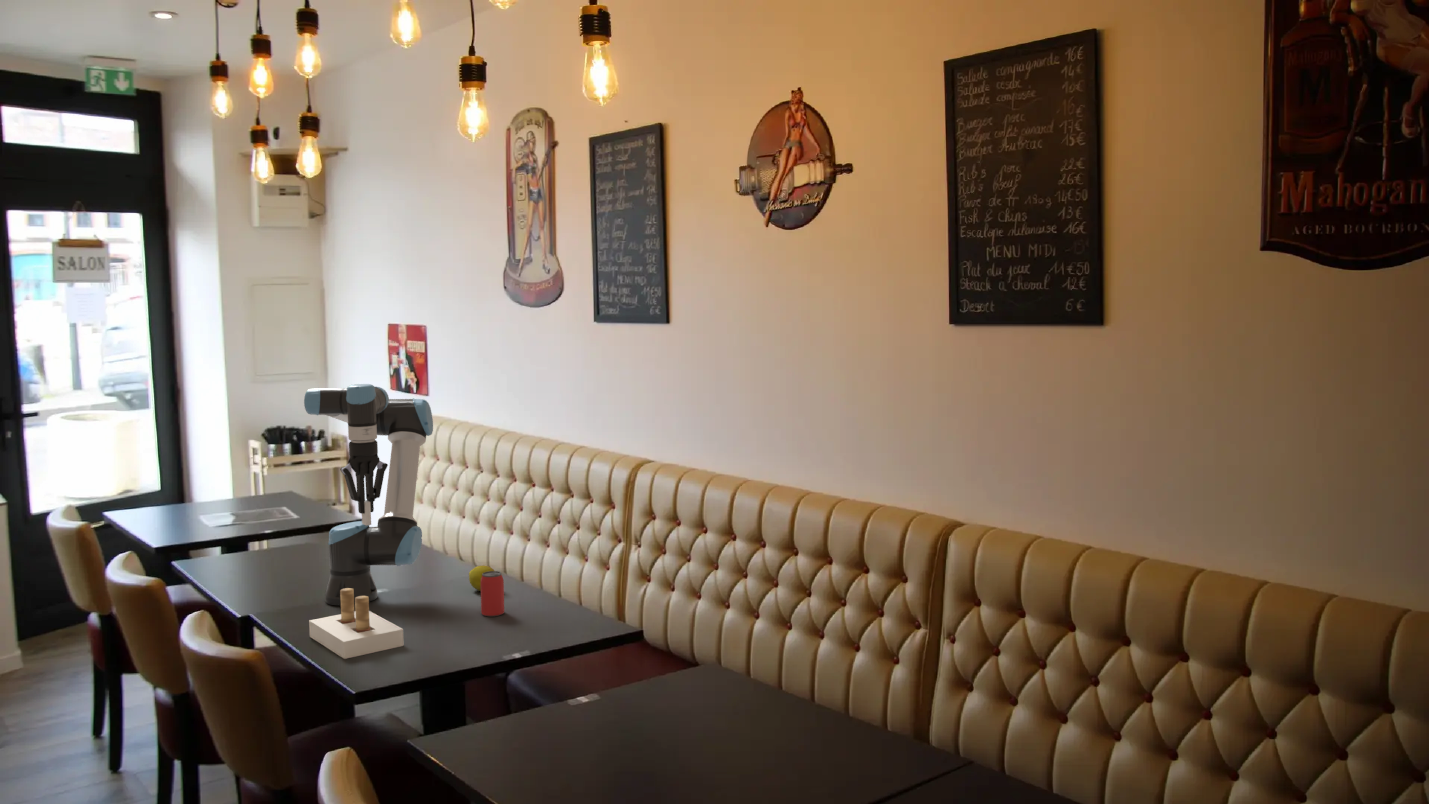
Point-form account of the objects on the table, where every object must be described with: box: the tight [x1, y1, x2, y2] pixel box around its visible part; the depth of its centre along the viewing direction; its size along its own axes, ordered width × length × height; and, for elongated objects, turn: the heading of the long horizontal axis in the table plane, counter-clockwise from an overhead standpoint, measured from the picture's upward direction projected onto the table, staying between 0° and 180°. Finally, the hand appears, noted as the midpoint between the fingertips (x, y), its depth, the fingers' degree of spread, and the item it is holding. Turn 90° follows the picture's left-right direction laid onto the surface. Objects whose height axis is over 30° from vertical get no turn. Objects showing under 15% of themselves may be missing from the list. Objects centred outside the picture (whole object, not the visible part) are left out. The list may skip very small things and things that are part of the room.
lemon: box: [468, 564, 495, 592], centre depth 342 cm, size 11×8×8 cm
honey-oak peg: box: [354, 596, 370, 633], centre depth 289 cm, size 4×4×13 cm
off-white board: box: [308, 610, 405, 660], centre depth 293 cm, size 16×24×4 cm, turn 40°
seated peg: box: [340, 588, 355, 624], centre depth 296 cm, size 4×4×13 cm
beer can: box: [480, 570, 505, 618], centre depth 317 cm, size 7×7×12 cm
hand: (366, 524), depth 305 cm, fingers closed
